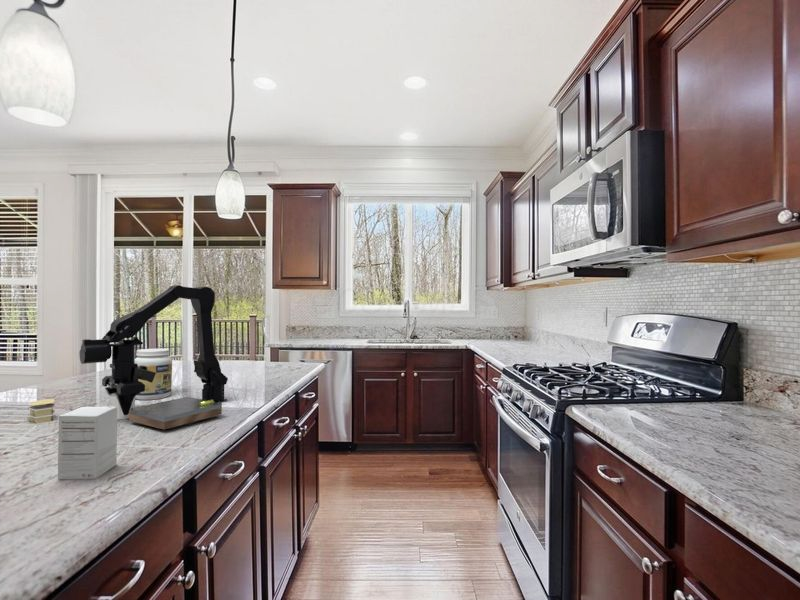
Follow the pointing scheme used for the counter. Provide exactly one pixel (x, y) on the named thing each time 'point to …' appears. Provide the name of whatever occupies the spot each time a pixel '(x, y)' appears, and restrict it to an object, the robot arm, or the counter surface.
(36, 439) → the counter surface
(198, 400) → the levelling plate
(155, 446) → the counter surface
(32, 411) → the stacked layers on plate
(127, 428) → the counter surface
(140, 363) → the supplement tub
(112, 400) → the white cup
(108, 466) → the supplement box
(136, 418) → the brown wooden board
